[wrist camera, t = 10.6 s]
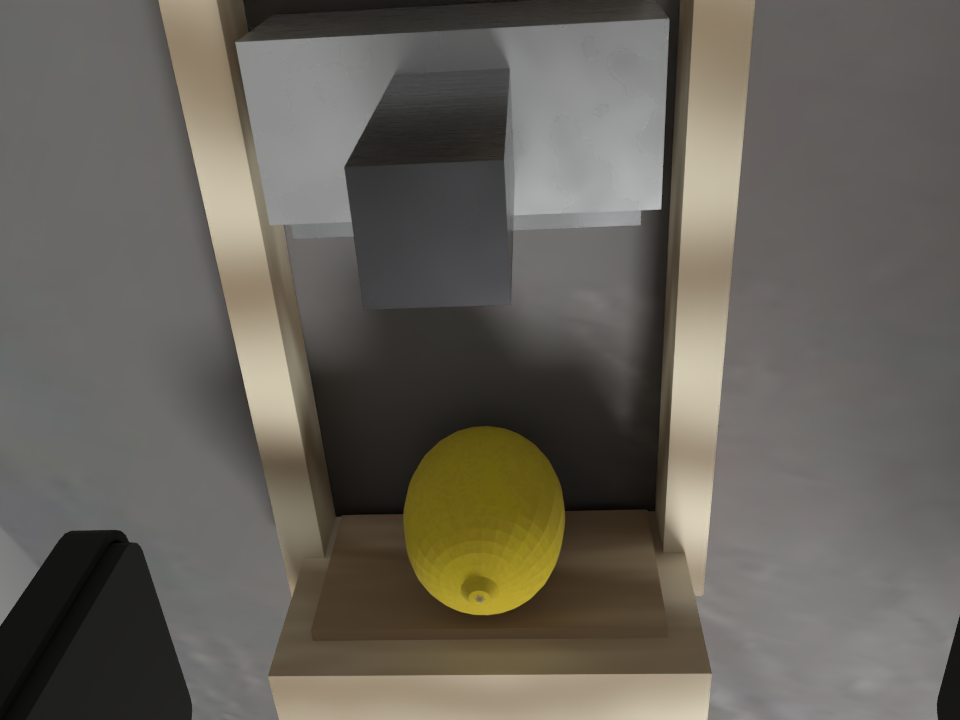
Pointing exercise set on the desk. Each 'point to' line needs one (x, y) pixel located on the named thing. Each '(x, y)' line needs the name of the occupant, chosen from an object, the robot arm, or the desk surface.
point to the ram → (456, 133)
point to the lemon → (484, 520)
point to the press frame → (587, 534)
